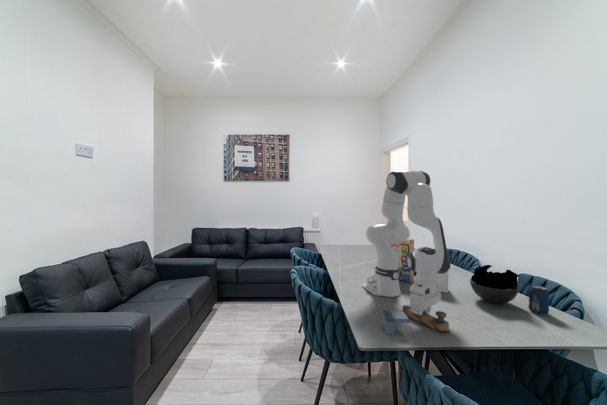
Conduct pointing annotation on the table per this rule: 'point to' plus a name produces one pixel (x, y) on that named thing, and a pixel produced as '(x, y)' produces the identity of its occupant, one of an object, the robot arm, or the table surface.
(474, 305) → the table surface
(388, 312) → the keeper
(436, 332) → the pin washer
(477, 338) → the table surface
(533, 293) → the soda can
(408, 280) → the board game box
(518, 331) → the table surface
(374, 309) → the table surface
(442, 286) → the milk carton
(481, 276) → the bowl of black rocks
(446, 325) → the link
